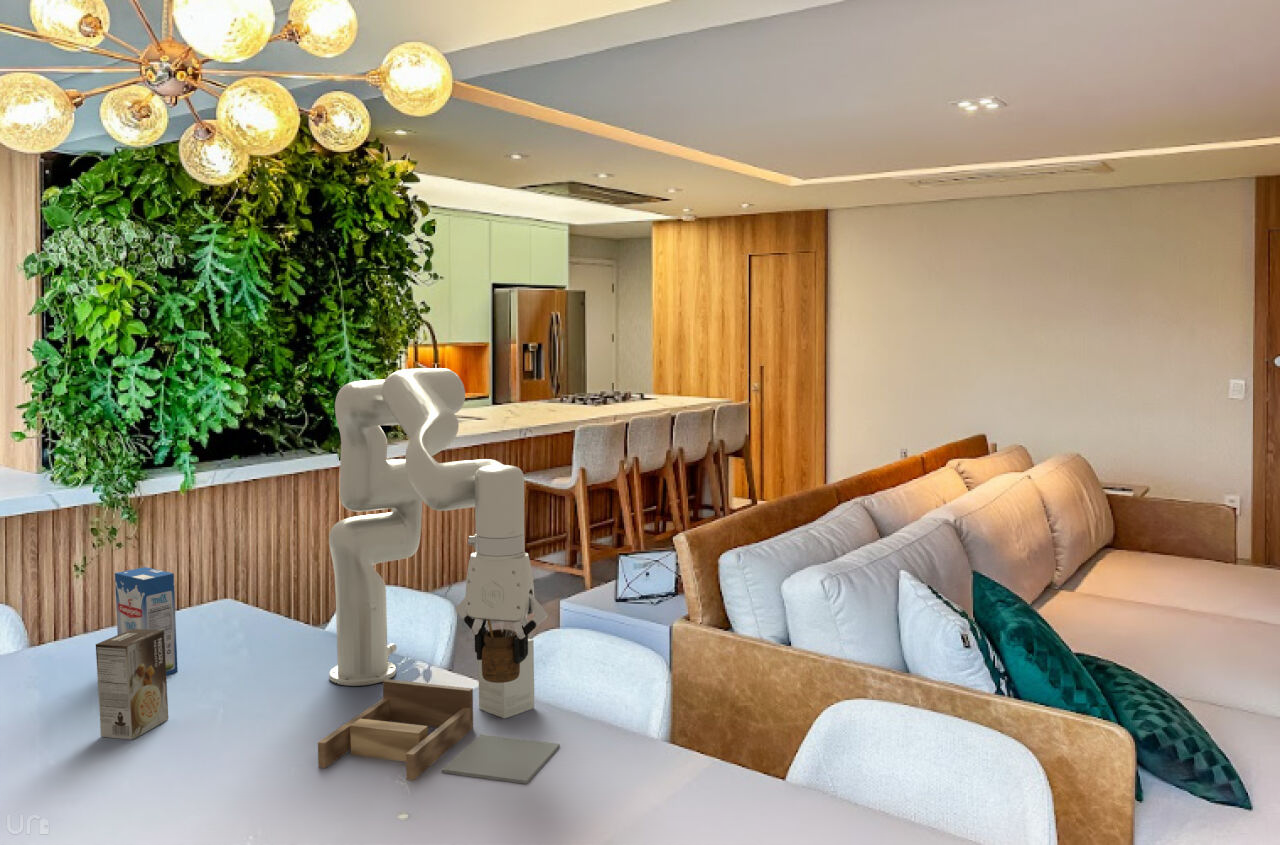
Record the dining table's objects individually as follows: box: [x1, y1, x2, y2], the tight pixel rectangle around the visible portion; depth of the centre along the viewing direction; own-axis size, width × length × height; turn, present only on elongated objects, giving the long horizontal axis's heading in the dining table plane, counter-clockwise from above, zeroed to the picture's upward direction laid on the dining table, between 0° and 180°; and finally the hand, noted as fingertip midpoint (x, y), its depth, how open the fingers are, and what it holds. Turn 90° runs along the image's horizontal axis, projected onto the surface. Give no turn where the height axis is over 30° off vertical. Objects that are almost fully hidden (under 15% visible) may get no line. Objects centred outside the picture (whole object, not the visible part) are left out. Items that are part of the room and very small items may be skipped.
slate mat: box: [441, 733, 561, 785], centre depth 157 cm, size 14×14×1 cm
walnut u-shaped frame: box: [317, 678, 474, 781], centre depth 161 cm, size 21×16×7 cm
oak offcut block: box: [350, 719, 429, 763], centre depth 158 cm, size 3×12×5 cm, turn 75°
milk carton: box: [114, 566, 179, 677], centre depth 196 cm, size 10×6×20 cm, turn 58°
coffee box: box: [95, 629, 169, 741], centre depth 168 cm, size 9×6×16 cm
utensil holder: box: [482, 620, 520, 683], centre depth 155 cm, size 6×6×12 cm
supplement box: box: [477, 638, 535, 719], centre depth 177 cm, size 7×7×13 cm
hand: (501, 658), depth 155 cm, fingers closed on utensil holder, 5 cm apart
